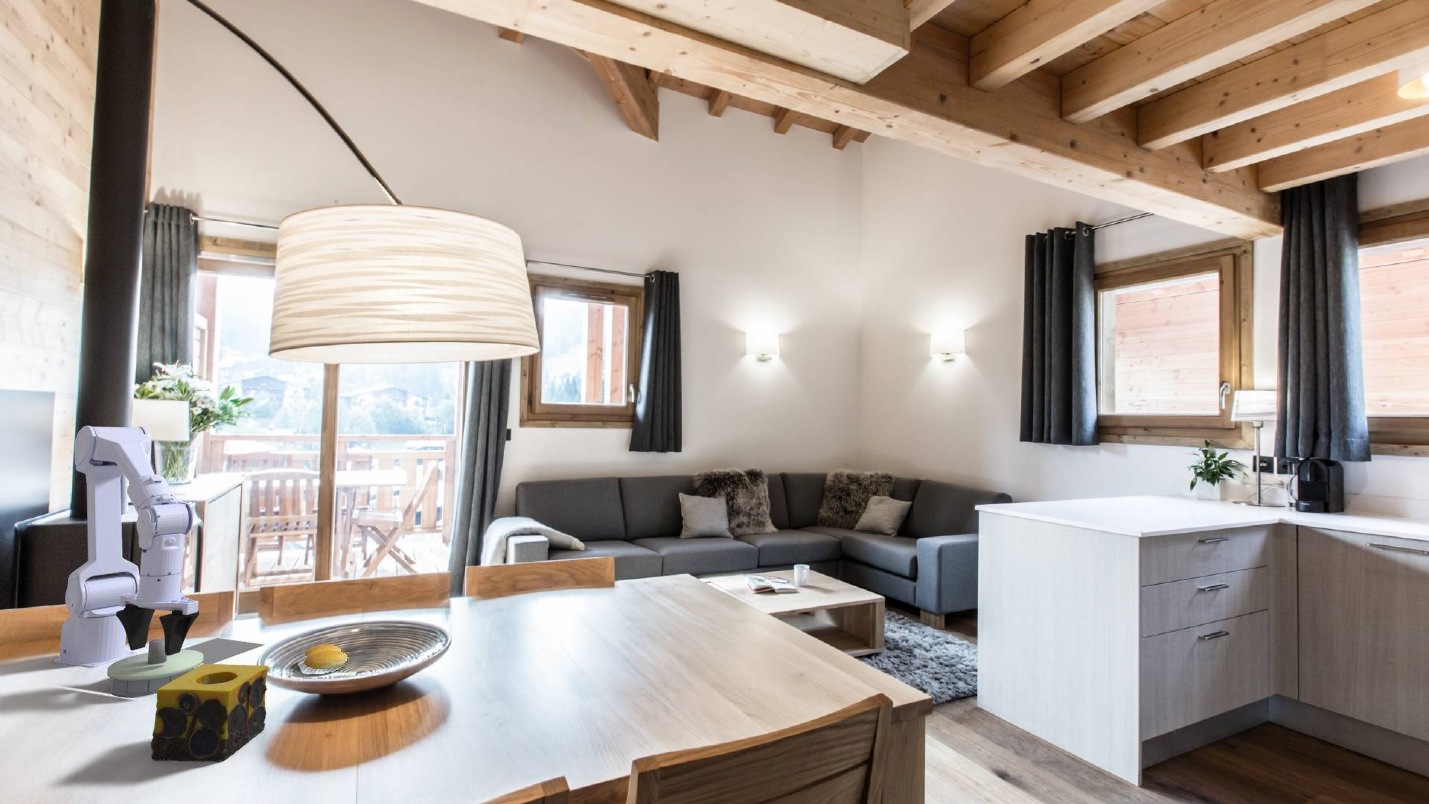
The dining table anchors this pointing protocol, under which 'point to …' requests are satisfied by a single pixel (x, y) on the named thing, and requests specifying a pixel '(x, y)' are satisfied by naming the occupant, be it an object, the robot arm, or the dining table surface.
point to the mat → (222, 649)
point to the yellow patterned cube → (209, 712)
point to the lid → (154, 663)
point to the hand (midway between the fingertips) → (155, 651)
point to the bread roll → (325, 657)
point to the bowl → (140, 685)
